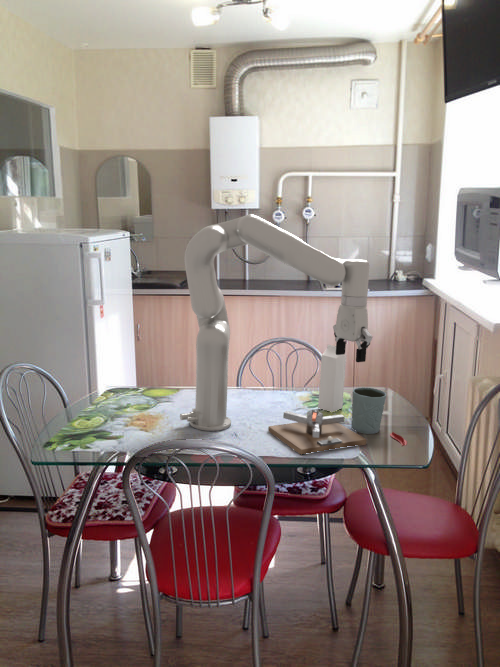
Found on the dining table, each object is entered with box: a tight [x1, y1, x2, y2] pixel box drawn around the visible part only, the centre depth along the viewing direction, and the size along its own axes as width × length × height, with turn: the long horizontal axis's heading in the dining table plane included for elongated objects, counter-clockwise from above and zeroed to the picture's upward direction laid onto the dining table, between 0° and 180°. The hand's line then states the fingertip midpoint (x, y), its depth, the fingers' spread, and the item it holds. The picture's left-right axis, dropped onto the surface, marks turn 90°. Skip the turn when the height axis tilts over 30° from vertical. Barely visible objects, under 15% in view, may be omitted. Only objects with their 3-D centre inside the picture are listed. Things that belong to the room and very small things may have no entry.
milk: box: [317, 344, 347, 412], centre depth 200 cm, size 6×6×22 cm
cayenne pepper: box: [389, 431, 408, 447], centre depth 177 cm, size 12×5×2 cm, turn 171°
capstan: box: [282, 409, 346, 438], centre depth 174 cm, size 16×18×6 cm
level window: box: [317, 438, 342, 446], centre depth 167 cm, size 7×2×1 cm, turn 116°
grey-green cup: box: [351, 387, 387, 435], centre depth 183 cm, size 10×10×12 cm
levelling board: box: [267, 422, 368, 456], centre depth 175 cm, size 22×19×2 cm
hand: (350, 358), depth 178 cm, fingers open, 9 cm apart
